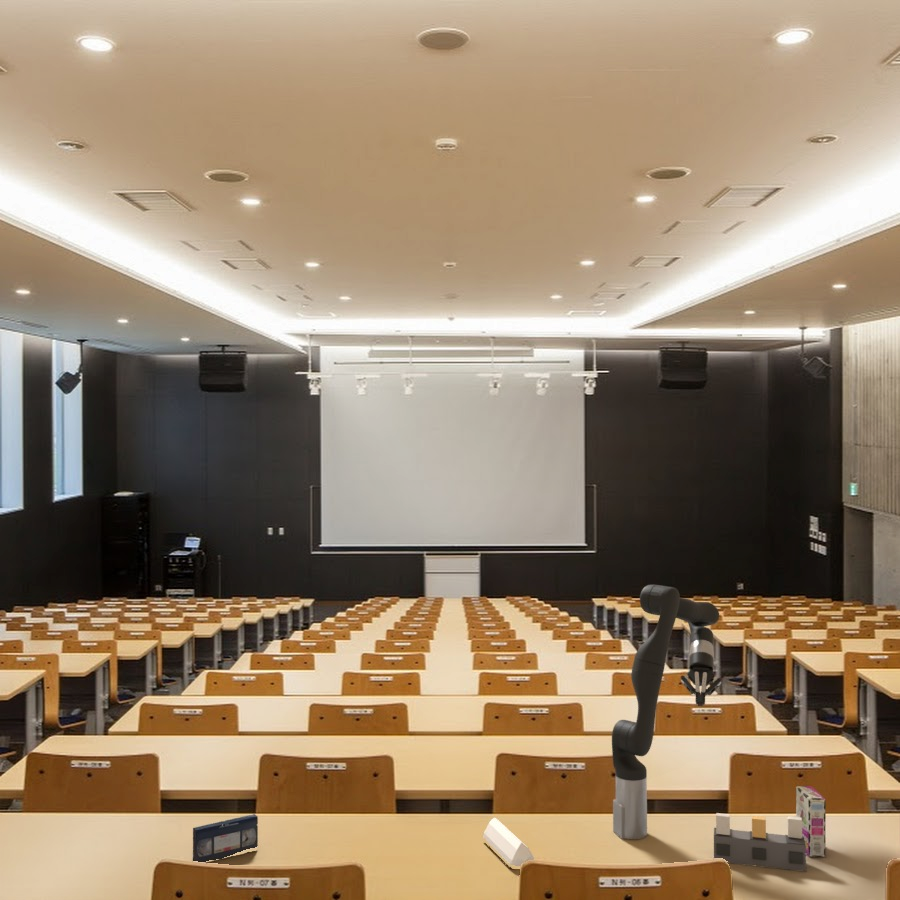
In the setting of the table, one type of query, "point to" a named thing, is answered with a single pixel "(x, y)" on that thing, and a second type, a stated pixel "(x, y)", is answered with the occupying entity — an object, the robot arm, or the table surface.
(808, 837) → the candy bar box
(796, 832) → the switch right
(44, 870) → the table surface
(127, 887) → the table surface
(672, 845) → the table surface
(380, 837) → the table surface
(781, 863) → the power strip
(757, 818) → the switch middle
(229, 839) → the vhs cassette tape
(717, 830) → the switch left
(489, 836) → the crystal
